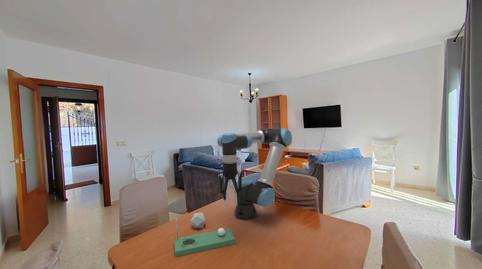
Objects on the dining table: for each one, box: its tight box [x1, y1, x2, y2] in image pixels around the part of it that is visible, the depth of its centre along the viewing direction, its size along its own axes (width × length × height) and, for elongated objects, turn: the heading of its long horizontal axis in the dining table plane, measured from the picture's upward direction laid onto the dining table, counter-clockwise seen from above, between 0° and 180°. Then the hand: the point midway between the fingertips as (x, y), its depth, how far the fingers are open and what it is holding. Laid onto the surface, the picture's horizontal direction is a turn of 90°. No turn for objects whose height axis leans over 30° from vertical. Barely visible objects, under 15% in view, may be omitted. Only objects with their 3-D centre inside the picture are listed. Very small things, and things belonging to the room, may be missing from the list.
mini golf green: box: [174, 217, 236, 258], centre depth 109 cm, size 30×12×14 cm, turn 108°
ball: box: [217, 227, 225, 236], centre depth 112 cm, size 4×4×4 cm
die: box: [190, 212, 207, 229], centre depth 127 cm, size 8×9×10 cm
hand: (231, 204), depth 113 cm, fingers open, 4 cm apart
